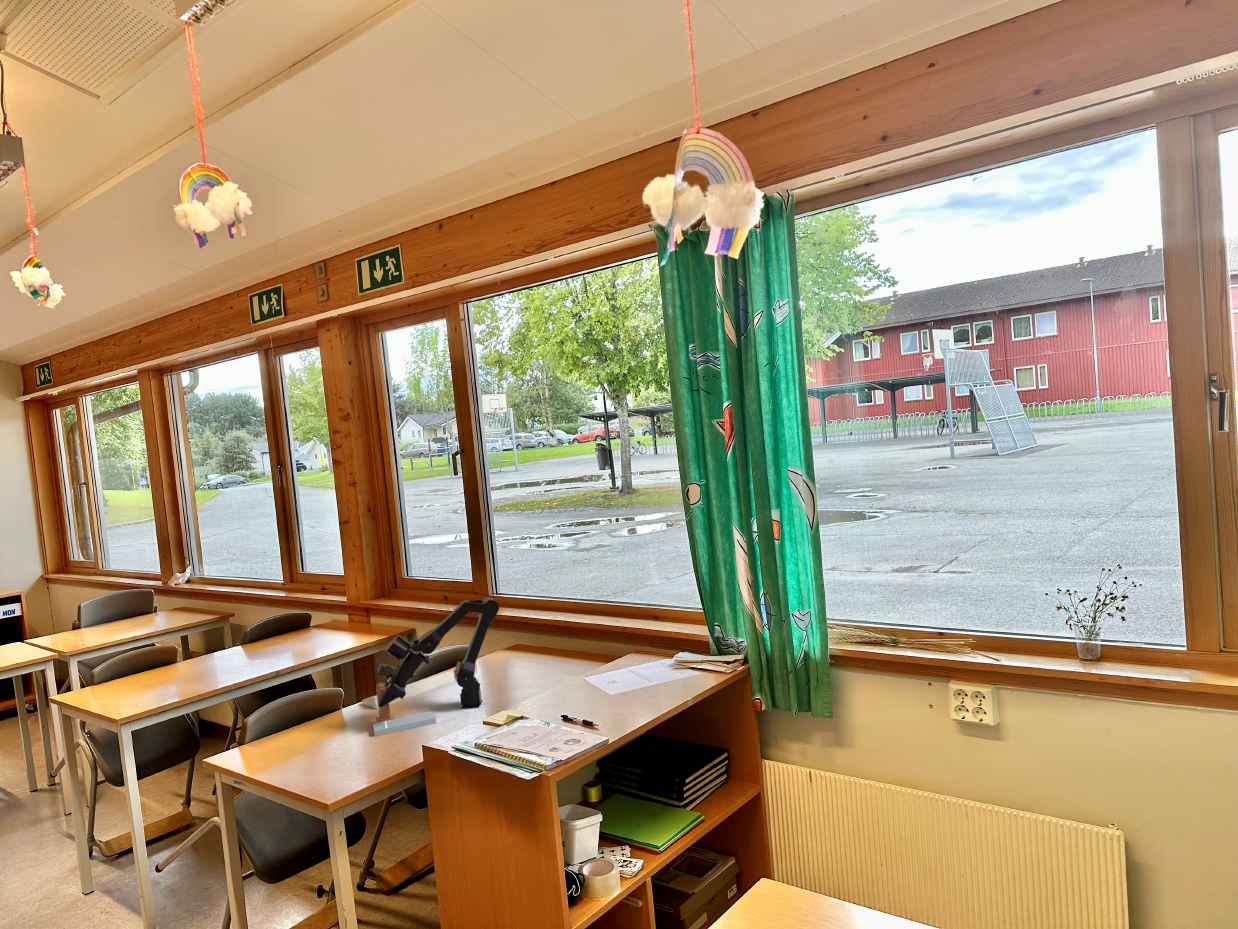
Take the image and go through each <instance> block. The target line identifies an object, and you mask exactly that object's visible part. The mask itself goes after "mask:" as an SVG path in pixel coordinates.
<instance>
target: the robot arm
mask: <svg viewBox="0 0 1238 929" xmlns="http://www.w3.org/2000/svg"><path fill="white" fill-rule="evenodd" d="M499 611H500V604H499V602H498V601H497V600H496V599H494V598H493V597H488V596H487V597H485V598H483V599H474V600H473V599H472V600H467V599H466V600H465V599H464V600H462V601H461V602H460V603H459V605H458V606H456V607H455V608H454V609H453V610H452V611H451V612H450V613H449V614H448V615H447V616H446V617H445V618H444V619H443V620H442V621H440V623H439V624H437V625H436V626H435V627H434V628H432V629H430V630H428V631H426V632H425V633H424V634H422V635H421V636H419V638H418V639H414V640H410V641H408V640H406V639H404V638H403V637H402V636H401V635H400V634H397V636H396V637H394V638H393V639H392V640H390V641H389V643H388V644H387V646H386V647H385V652H386V653H387V654H389V655H390V656H392V657H393V658H395V659H396V660H398V661H400V660H402V662H401V663H398V664H397V665H396V666H394V665H392V664H388V663H385V662H384V663H383V662H380V663H379V665H378V668H377V675H379V676H383V677H384V678H385V679H384V682H385V684H387V686H386V693H385V695H384V696H383V698H382V700H381V702H380V704H379V707H383V706H385V705H386V704H388V703H390V702H392V701H393V700H395V699H397V698H401V699H403V698H404V696H405V695H406V691H405V687H406V685H408V682H409V681H410V680H411V679H413V678H414V676H415V675H414V674H415V673H416V672H417V671H418V669H419V668H420V667H421V665H422V664H423V663H425V664H427V665H429V664H430V656H429V655H430V654H432V653H434V651H435V650H436V648H438V646H439V645H440V643H441V641H442V640H443V638H444V637H445V636H446V635H447V633H448V632H450V631H451V630H452V629H453V628H454V627H455V626H456V625H457V624H458V623H459V622H460V621H461V620H462V619H463V618H464V617H466V616H467V614H470V613H472V614H478V621H477V623H476V625H475V626H476V627H475V629H474V632H473V634H472V637H471V639H470V643H469V645H468V648H467V650H466V653H465V656H464V658H463V659H462V661H457V662H456V667H455V669H454V670H453V675H454V679H455V682H456V683H457V685H458V686H459V687H461V693H460V694H459V696H460V697H459V698H460V705H461V709H462V710H463V709H465V710H466V709H473V708H480V707H481V706H480V705H482V704H481V703H483V702H484V700H483V699H482V693H481V692H482V690H481V683H480V682H479V680H478V679H477V677H476V676H475V672H476V662H477V659H478V658H479V653H480V651H481V648H482V646H483V643H484V640H485V637H486V635H487V632H488V629H489V627H490V625H491V623H493V621H494V620H495V618H496V616H497V614H498V613H499ZM386 679H387V680H386ZM482 701H483V702H482ZM479 706H480V707H479Z"/></svg>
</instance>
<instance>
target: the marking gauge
mask: <svg viewBox="0 0 1238 929" xmlns="http://www.w3.org/2000/svg"><path fill="white" fill-rule="evenodd" d="M386 686H387V684H385V681H384V682H378V683H377V684H376V685H375V690H376V691H375V692H376V695H377V700H378V708H379V709H378V716H376V717H375V723H378V722H382V721H387V720H392V719H396V718H395V715H394V713H391V711H390V710H391V709H390V705H389V703H388V704H386V705H385V706H383V707H379V704H380V702H381V700H382V698H383V696H384V695H385V693H386Z"/></svg>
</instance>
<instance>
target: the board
mask: <svg viewBox="0 0 1238 929" xmlns="http://www.w3.org/2000/svg"><path fill="white" fill-rule="evenodd" d="M435 724H437V718H436V715H435V713H434V710H431V711H427V712H426V711H425V712H422V713H417V714H411V715H406V716H403V717H397V718H395V719H392V720H387V721H382V722H378V723H376V722H375V723H372V725H373V732H374V737H377V736H378V737H379V736H381V735H387V734H392V733H397V732H401V731H406V730H410V729H416V728H419V727H420V728H421V727H425V726H429V725H435Z"/></svg>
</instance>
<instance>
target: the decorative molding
mask: <svg viewBox="0 0 1238 929" xmlns="http://www.w3.org/2000/svg"><path fill="white" fill-rule="evenodd" d="M454 675H455V674H454V670H450V671H446V672H443V673H438V674H436V675H433V676H430V677H427V678H424V679H421V680H418V681H415V682H412V683H409V684H406V687H405V691H406V695H405V696H404V698H403V699H405V700H407V699H406V698H408V699H410V698H412V697H416V696H419V695H422V694H425V693H427V692H431V691H433V690H436V689H439V688H441V687H445V686H447V685H450V684H452V683H453V684H454V683H455V682H456V680H455V677H454ZM418 694H419V695H418ZM409 697H410V698H409ZM403 699H401V698H397V699H395V700H393V701H392V702H390V703H389V704H390V705H392V704H391V703H393V704H395V703H394V702H396V703H398V702H397V701H399V702H401V700H402V701H404V700H403ZM365 702H366V703H365ZM362 703H364V704H363V705H364V706H366V705H367V706H366V707H371V708H373V709H375V708H378V700H377V694H376V695H373V696H370V697H367V698H364V699H362Z"/></svg>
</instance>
